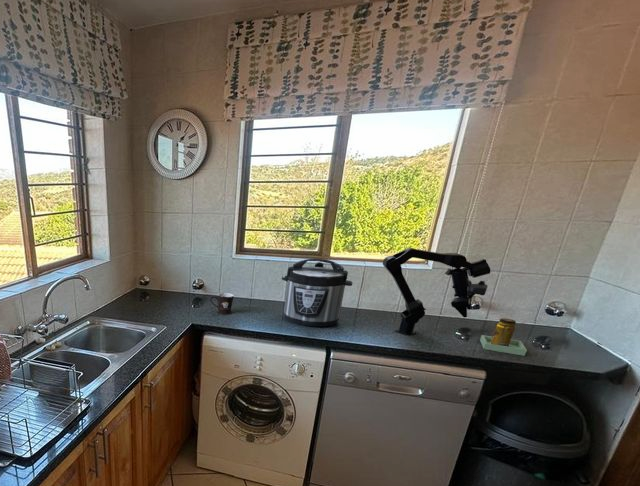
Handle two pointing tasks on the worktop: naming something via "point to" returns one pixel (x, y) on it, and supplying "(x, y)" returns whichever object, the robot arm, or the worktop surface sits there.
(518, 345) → the tray
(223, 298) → the coffee mug
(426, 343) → the worktop surface
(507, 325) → the condiment
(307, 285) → the pressure cooker
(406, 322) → the robot arm
